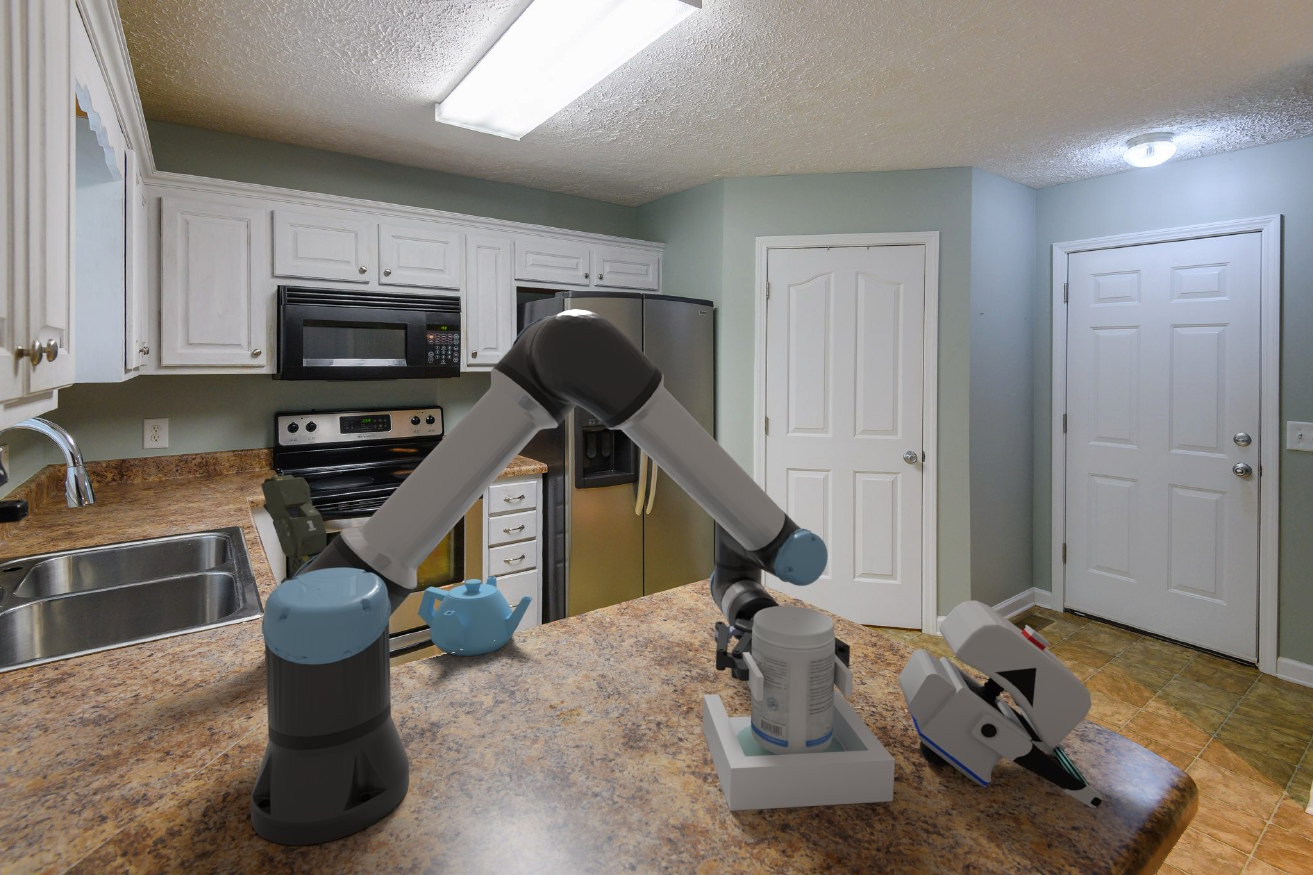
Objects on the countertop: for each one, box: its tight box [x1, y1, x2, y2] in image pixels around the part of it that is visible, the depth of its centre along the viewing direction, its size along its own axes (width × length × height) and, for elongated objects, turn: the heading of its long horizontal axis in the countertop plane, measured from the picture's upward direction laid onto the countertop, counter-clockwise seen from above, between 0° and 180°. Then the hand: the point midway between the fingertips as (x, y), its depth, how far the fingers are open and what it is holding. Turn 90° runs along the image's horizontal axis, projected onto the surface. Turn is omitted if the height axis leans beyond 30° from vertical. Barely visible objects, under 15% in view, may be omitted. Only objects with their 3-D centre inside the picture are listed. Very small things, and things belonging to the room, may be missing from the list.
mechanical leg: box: [260, 474, 327, 584], centre depth 106 cm, size 14×7×30 cm, turn 57°
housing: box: [702, 689, 896, 812], centre depth 77 cm, size 18×16×5 cm
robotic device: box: [898, 599, 1104, 809], centre depth 76 cm, size 10×21×20 cm
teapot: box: [417, 576, 533, 657], centre depth 111 cm, size 15×15×11 cm
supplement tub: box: [750, 605, 836, 755], centre depth 76 cm, size 10×10×15 cm
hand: (804, 687), depth 72 cm, fingers closed on supplement tub, 9 cm apart
